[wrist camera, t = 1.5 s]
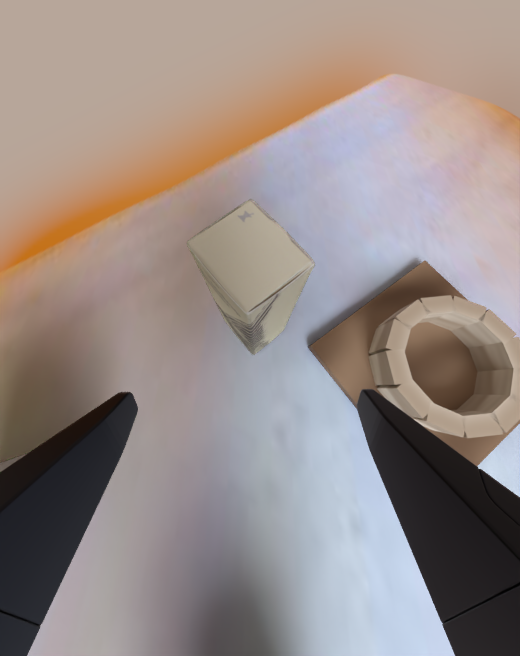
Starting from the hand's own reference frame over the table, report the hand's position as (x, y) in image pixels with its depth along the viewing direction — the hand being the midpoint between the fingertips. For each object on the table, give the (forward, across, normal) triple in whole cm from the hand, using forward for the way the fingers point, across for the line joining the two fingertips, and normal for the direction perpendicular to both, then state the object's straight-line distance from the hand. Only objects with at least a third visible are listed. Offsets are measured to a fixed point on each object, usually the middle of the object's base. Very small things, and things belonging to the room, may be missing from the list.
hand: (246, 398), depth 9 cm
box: (+14, 0, +4) cm, 14 cm away
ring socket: (+11, -16, +7) cm, 21 cm away
